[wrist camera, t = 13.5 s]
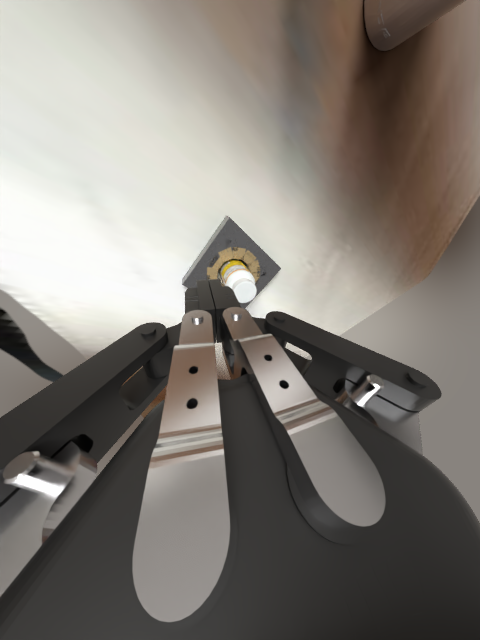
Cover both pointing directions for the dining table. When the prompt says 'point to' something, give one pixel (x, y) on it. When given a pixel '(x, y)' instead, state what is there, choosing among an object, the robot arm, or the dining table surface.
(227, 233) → the mount plate
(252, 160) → the dining table surface
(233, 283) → the supplement bottle
